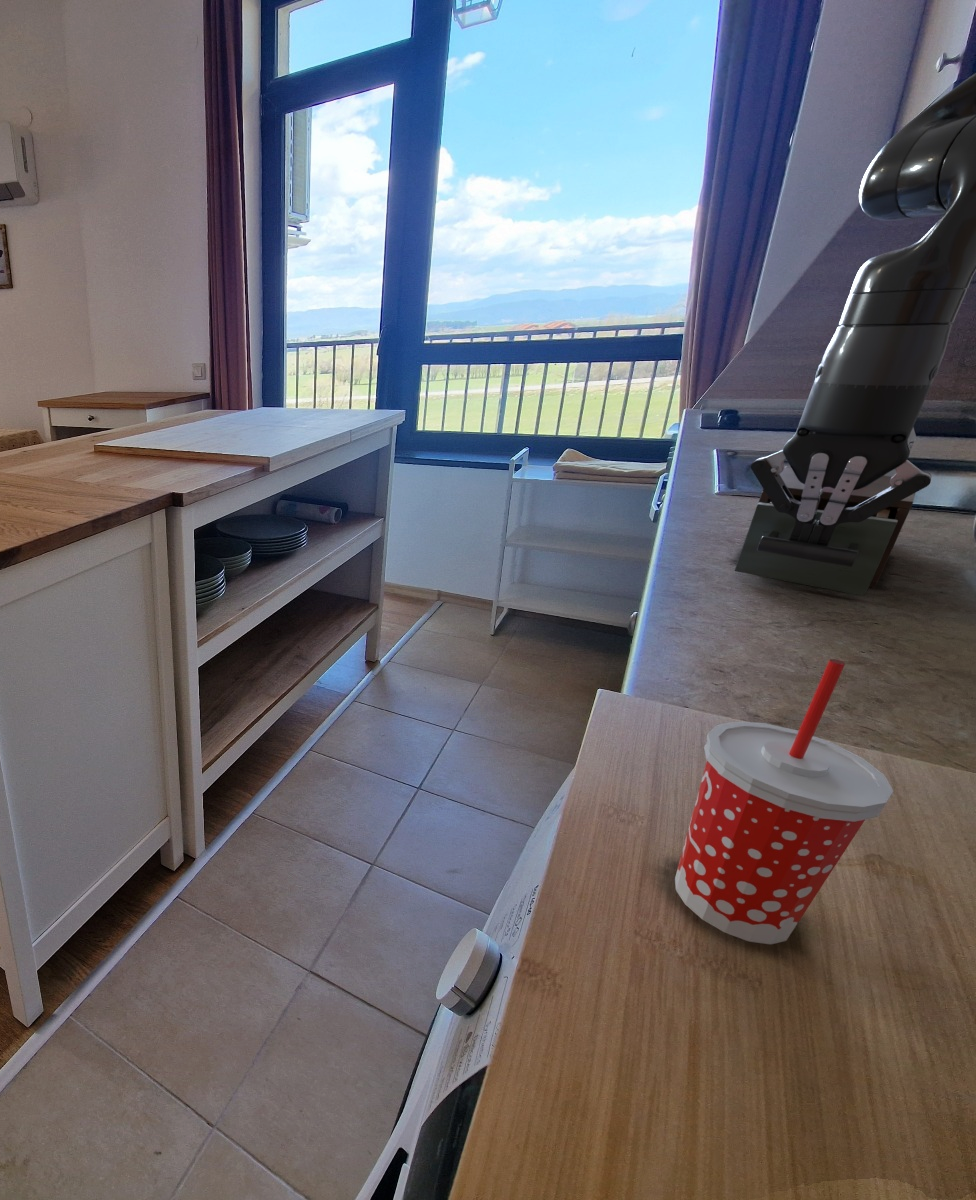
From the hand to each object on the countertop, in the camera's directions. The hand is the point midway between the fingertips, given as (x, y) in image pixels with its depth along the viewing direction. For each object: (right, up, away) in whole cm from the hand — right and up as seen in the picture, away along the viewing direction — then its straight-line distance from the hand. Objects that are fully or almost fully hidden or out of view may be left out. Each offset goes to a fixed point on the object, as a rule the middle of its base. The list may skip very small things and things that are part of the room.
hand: (802, 556), depth 64 cm
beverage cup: (-36, -20, -32) cm, 53 cm away
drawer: (+5, -2, +5) cm, 8 cm away
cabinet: (+13, 0, +12) cm, 18 cm away
